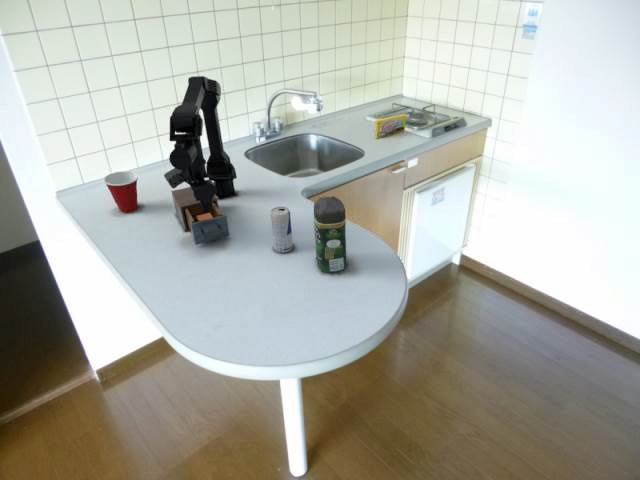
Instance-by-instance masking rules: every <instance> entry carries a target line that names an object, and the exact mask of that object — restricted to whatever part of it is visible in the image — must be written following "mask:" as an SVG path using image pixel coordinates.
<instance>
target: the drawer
mask: <svg viewBox="0 0 640 480" xmlns="http://www.w3.org/2000/svg"><path fill="white" fill-rule="evenodd" d="M184 210H185V215H186V220H187V224H188V227H189V229H190V230H189V231H190V232H191V234H192V238H193V242H194V245H195V246H197V245H201V244H205V243H209V242H212V241H217V240H220V239H224V238H227V237H228V238H229V237H230V230H229V225H228V218H227V216H226V214H223V213H222V212H221V211H220V208H219V209H218V208H217V206H216V205H215V203H214V202H211V205H210V208H209V212H208V213H210V214H211V215H212V217H213V218H210V219H206V220H202V221H198V222H197V217H196V216H198V215H202V214H206V213H204V211H203V208H202V206H201V205H197V206H193V207H188V208H184Z"/></svg>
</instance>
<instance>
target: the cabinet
mask: <svg viewBox="0 0 640 480" xmlns="http://www.w3.org/2000/svg"><path fill="white" fill-rule="evenodd" d="M170 192H171V197H172V201H173V206H174V209H175V214H176V216H177V218H178V221H179V222H180V224H181V226H182V228H183V230H184V232H189V231H190V229H189V227H188V224H187V220H186V215H185V210H184V208H188V207H193V206H197V205H201V203H200V201H197V200H196V198H195V197H194V196H193V195H192V191H191V187H190V186H187V187H184V188H179V189H175V190H171V191H170ZM218 201H219V200H218V197H217V196H216V195H214V197H213V199H212V202H214V203H215V205H216V206H217V208H218V209H219V210H220V207H219V202H218Z"/></svg>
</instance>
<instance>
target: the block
mask: <svg viewBox="0 0 640 480" xmlns="http://www.w3.org/2000/svg"><path fill="white" fill-rule="evenodd" d="M196 217H197V222H198V221H202V220H206V219H210V218H213V217H212V215H211V214H210V213H206V214H202V215H198V216H196Z"/></svg>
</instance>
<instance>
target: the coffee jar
mask: <svg viewBox="0 0 640 480" xmlns="http://www.w3.org/2000/svg"><path fill="white" fill-rule="evenodd" d="M346 218H347V217H346V207H345V204H344V203H343V201H342V200H341V199H339V198H338V197H336V196H322V197H319V198H318V199H316V200H315V201H314V204H313V227H314V241H315V257H316V264H317V266H318V269H319V270H320V271H321V272H324V273H331V274H332V273H339V272H341V271H343V270H345V269H346V267H347V234H346V230H347V229H346Z"/></svg>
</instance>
